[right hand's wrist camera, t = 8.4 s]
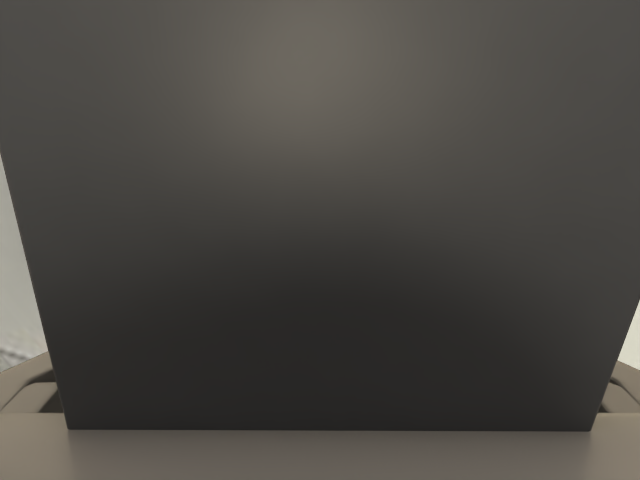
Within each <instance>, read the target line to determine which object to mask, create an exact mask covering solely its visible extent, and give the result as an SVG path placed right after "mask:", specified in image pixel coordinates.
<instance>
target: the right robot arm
mask: <svg viewBox="0 0 640 480" xmlns="http://www.w3.org/2000/svg"><path fill="white" fill-rule="evenodd" d="M0 480H640V370H638V369H636V368H633V367H631V366H629V365H627V364H624V363H622V362H620V361H618V360H617V362H616V365H615V367H614V370H613V373H612V375H611V378H610V381H609V383H608V386H607V389H606V392H605V394H604V397H603V400H602V402H601V405H600V408H599V410H598V413H597V416H596V418H595V421H594V424H593V427H592V429H591V431H589V432H558V431H286V430H69V429H67V425H66V421H65V417H64V413H63V409H62V405H61V400H60V396H59V392H58V388H57V384H56V380H55V376H54V372H53V368H52V363H51V359H50V355H49V351H48V352H45V353H43V354H41V355H39V356H36V357H34V358H32V359H30V360H27V361H25V362H23V363H21V364H19V365H16V366H14V367H12V368H10V369H7V370H5V371H3V372H1V373H0Z"/></svg>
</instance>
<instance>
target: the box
mask: <svg viewBox="0 0 640 480" xmlns="http://www.w3.org/2000/svg"><path fill="white" fill-rule="evenodd" d="M0 153H1V158H2V162H3V166H4V170H5V174H6V178H7V182H8V186H9V190H10V195H11V199H12V203H13V207H14V211H15V215H16V219H17V223H18V228H19V232H20V236H21V240H22V244H23V248H24V252H25V256H26V260H27V265H28V269H29V273H30V277H31V281H32V285H33V289H34V293H35V298H36V302H37V306H38V310H39V314H40V318H41V322H42V326H43V330H44V335H45V339H46V343H47V347H48V351H49V355H50V359H51V363H52V368H53V372H54V376H55V380H56V384H57V388H58V392H59V396H60V400H61V405H62V409H63V413H64V417H65V421H66V425H67V429H69V430H286V431H558V432H589V431H591V429H592V427H593V424H594V421H595V418H596V416H597V413H598V410H599V408H600V405H601V402H602V400H603V397H604V394H605V392H606V389H607V386H608V383H609V381H610V378H611V375H612V373H613V370H614V367H615V365H616V362H617V359H618V357H619V354H620V351H621V349H622V346H623V343H624V340H625V338H626V335H627V332H628V330H629V327H630V324H631V322H632V319H633V316H634V314H635V311H636V308H637V306H638V303H639V300H640V0H0Z"/></svg>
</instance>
